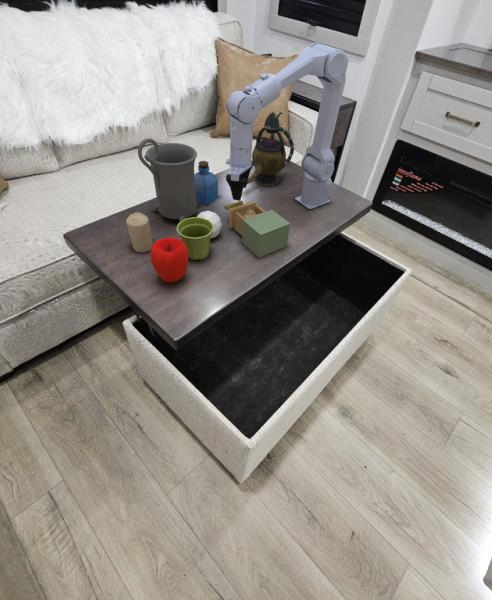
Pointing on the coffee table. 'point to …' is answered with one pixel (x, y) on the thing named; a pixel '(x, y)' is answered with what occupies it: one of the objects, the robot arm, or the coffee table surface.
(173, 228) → the coffee table surface
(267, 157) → the teapot
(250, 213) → the block
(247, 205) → the drawer
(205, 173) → the perfume bottle
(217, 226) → the geometric ball
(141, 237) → the candle
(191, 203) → the mug
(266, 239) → the sage green box
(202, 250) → the plant pot
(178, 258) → the apple
